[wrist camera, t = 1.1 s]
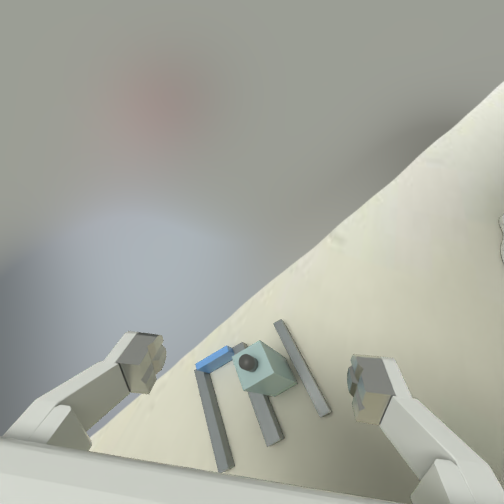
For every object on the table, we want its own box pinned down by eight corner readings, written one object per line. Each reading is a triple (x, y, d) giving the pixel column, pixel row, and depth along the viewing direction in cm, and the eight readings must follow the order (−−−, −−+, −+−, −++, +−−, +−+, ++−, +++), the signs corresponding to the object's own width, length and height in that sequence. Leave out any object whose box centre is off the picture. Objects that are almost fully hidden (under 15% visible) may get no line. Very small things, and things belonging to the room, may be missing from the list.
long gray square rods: (284, 322, 42) (277, 315, 39) (331, 411, 33) (328, 411, 30) (200, 371, 43) (187, 368, 40) (225, 471, 34) (211, 476, 31)
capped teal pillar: (285, 357, 39) (253, 336, 28) (297, 383, 37) (268, 370, 26) (263, 370, 39) (224, 353, 29) (274, 396, 37) (236, 389, 26)
